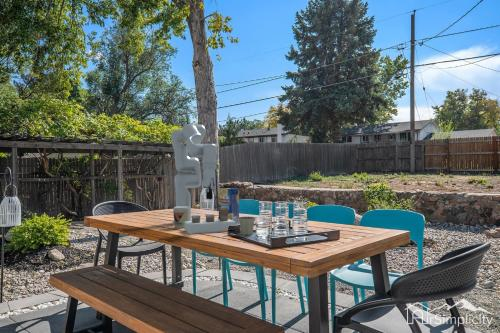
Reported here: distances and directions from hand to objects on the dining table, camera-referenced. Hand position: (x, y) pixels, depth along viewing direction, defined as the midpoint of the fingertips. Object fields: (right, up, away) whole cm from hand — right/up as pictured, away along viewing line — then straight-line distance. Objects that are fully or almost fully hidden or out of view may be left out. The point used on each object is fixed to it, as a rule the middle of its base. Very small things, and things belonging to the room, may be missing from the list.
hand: (209, 199), depth 215 cm
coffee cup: (-18, -18, +12) cm, 28 cm away
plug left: (-7, -17, -4) cm, 19 cm away
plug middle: (0, -17, -1) cm, 17 cm away
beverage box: (+10, -18, +25) cm, 32 cm away
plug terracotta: (+8, -13, +2) cm, 15 cm away
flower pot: (+21, -17, -14) cm, 31 cm away
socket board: (+1, -17, -1) cm, 17 cm away
